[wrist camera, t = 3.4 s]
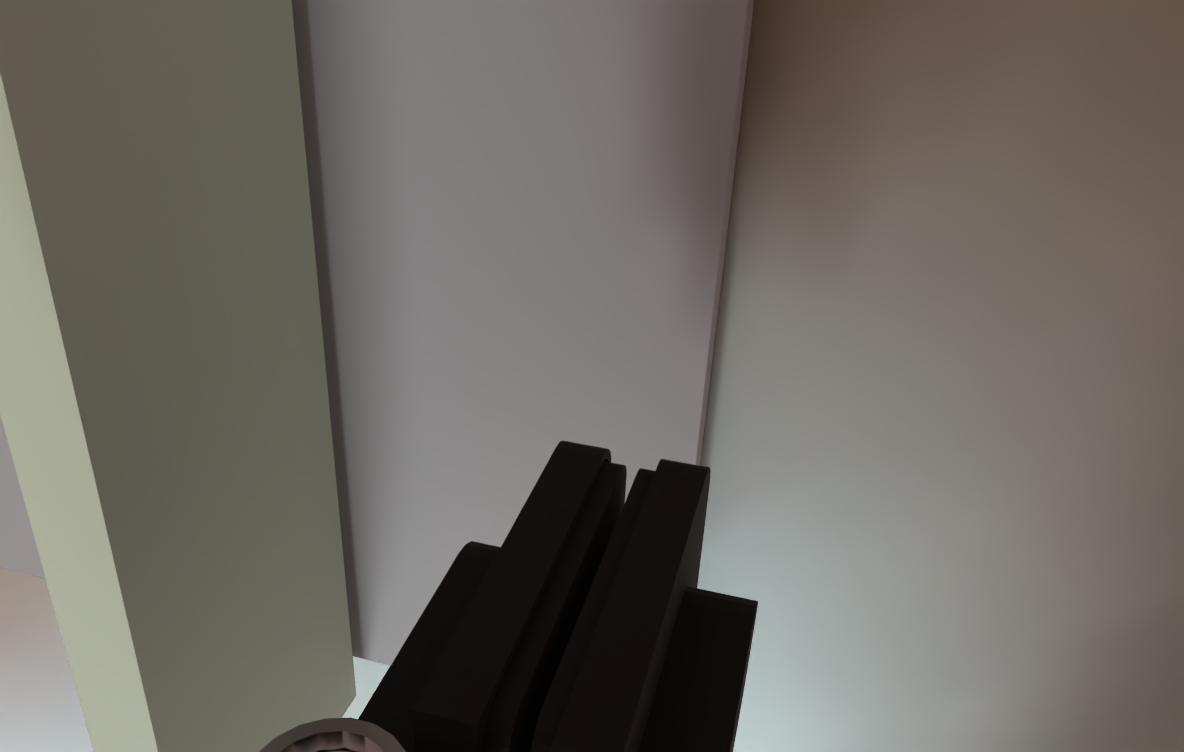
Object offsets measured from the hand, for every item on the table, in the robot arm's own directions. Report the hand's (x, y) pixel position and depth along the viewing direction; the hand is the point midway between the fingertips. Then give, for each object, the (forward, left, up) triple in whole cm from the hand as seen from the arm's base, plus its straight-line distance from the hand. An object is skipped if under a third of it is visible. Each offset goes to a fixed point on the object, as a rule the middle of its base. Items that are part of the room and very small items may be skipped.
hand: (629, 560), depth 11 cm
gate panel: (+6, 0, -3) cm, 6 cm away
